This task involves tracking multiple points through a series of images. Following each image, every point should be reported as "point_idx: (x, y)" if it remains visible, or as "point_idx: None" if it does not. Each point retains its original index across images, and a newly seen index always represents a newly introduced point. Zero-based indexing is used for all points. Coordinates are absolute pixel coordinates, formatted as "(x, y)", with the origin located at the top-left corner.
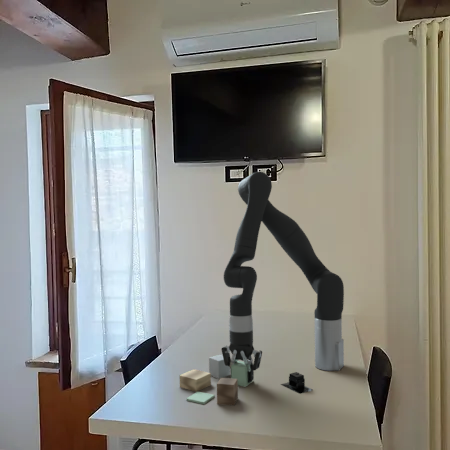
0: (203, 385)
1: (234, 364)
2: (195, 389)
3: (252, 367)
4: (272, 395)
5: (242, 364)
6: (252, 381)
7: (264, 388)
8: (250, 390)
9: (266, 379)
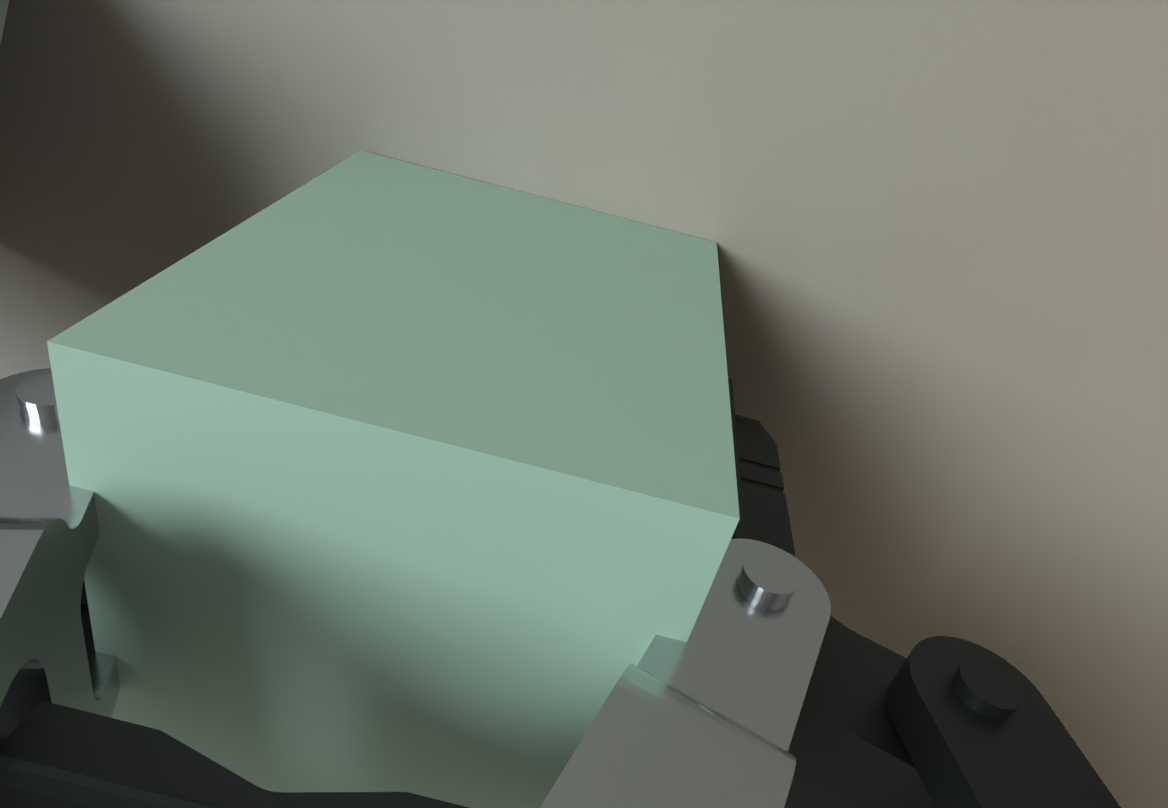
0: None
1: (145, 690)
2: None
3: (796, 802)
4: (1122, 762)
5: (396, 678)
6: (715, 252)
7: (999, 549)
8: None
9: (1094, 12)
